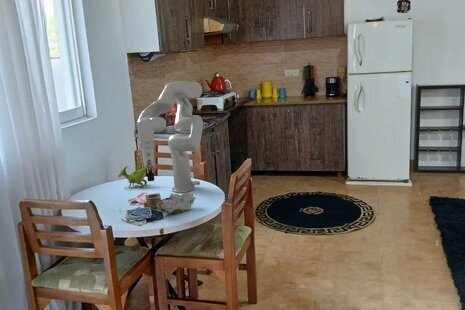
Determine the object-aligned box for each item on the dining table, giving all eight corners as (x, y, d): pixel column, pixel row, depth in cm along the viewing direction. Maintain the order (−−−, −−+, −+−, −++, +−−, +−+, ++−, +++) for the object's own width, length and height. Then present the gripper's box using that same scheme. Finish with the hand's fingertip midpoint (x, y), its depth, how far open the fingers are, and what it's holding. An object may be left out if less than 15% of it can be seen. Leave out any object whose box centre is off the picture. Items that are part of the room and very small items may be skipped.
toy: (133, 191, 275) (118, 171, 273) (161, 173, 270) (146, 152, 268) (128, 196, 267) (113, 175, 265) (157, 177, 262) (142, 156, 260)
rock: (170, 226, 216) (166, 211, 210) (157, 216, 223) (152, 201, 216) (200, 204, 225) (197, 189, 219) (187, 194, 232) (183, 180, 226)
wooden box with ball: (160, 204, 234) (159, 193, 232) (162, 208, 227) (160, 197, 226) (144, 206, 232) (142, 195, 231) (144, 211, 225) (143, 199, 224)
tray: (150, 210, 225) (150, 206, 225) (152, 218, 214) (151, 214, 214) (126, 214, 223) (125, 210, 222) (126, 222, 212) (126, 218, 211)
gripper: (156, 146, 215) (159, 182, 218) (153, 141, 231) (156, 173, 235) (139, 148, 213) (143, 183, 217) (138, 142, 230) (141, 175, 233)
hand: (150, 178), depth 226 cm, fingers open, 9 cm apart
